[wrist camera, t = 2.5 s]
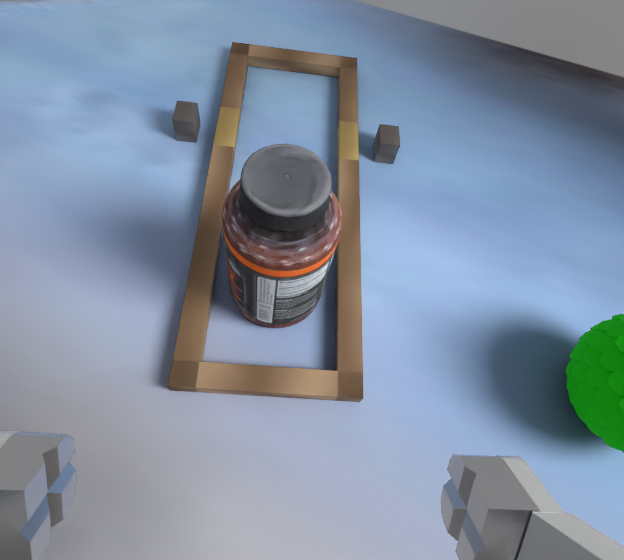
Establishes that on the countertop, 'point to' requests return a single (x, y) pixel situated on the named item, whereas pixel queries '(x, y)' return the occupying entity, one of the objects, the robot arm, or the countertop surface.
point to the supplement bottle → (280, 234)
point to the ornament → (600, 380)
